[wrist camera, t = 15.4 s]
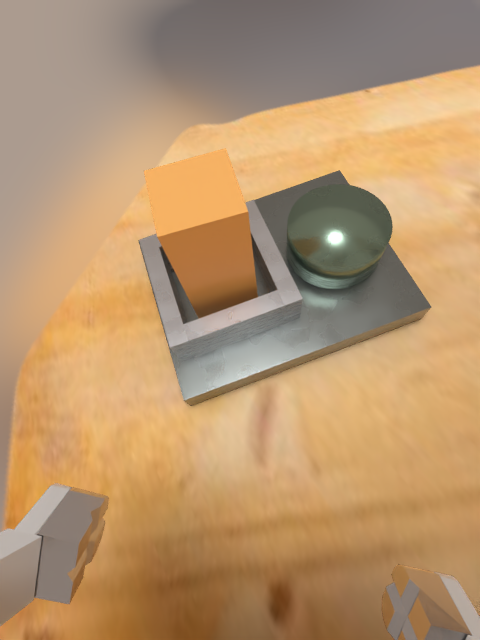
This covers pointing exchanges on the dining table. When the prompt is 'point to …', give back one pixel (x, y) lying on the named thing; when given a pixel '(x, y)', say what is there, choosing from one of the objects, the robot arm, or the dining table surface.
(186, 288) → the tall orange prism
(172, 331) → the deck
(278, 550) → the dining table surface
